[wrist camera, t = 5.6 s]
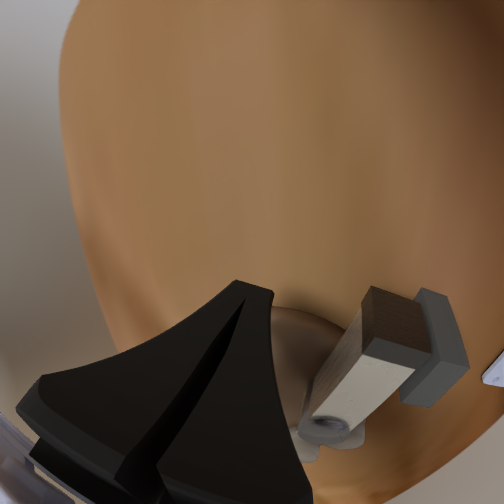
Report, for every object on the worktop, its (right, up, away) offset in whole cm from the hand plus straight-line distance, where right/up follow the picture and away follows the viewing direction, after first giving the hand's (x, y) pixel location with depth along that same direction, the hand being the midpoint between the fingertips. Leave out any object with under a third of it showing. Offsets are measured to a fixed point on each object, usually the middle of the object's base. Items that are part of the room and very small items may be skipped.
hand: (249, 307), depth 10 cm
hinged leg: (+4, -3, +1) cm, 5 cm away
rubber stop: (+7, -1, +1) cm, 8 cm away
